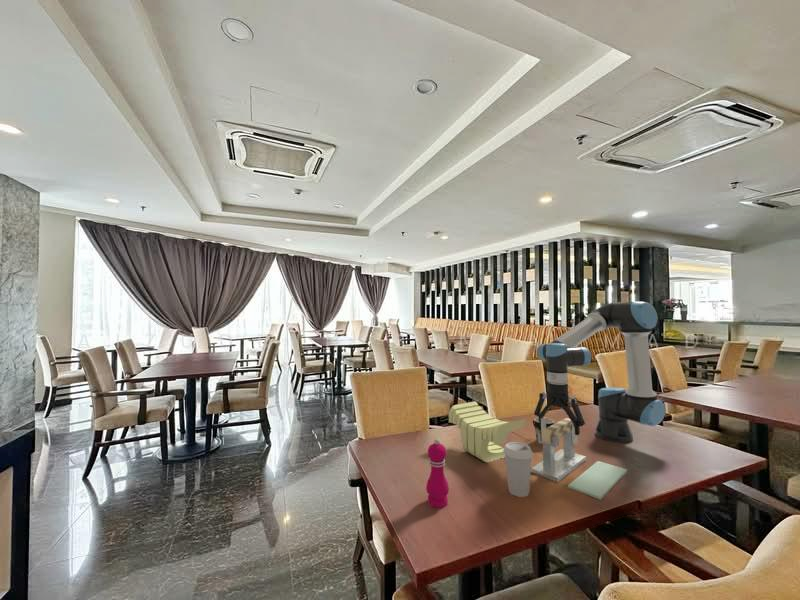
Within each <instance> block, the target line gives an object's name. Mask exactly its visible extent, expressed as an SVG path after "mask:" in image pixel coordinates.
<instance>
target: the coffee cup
mask: <svg viewBox="0 0 800 600" xmlns="http://www.w3.org/2000/svg"><path fill="white" fill-rule="evenodd" d="M503 448H504V450H503V452H504V454H505V459H504V460H505V469H506V474H507V475H506V477H507V485H508V488H507V489H508V492H509V493H510V494H511V495H513V496H515V497H519V498H520V497H521V498H526V497H528V496H529V495H530V485H531V473H532V472H531V468H532V458H533V456H534V453H533V450H532V449H531V446H530V445H527V444H526V443H522V442H519V441H512V442H507V443H505V446H504V447H503Z"/></svg>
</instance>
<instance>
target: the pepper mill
mask: <svg viewBox="0 0 800 600" xmlns="http://www.w3.org/2000/svg"><path fill="white" fill-rule="evenodd" d="M427 454H428V458H429V465H430V474H429V478H428V479H427V482H426V492H427V495H428V496H427V504H428V505H429V506H431V507H433V508H435V507H436V508H437V509H441V507H442V508H444V507H446V506H447V505H448V503H449V502H448V500H449V499H448V496H447V495H449V492H450V486H449V483H448V481H447V478H446V475H445V471H444V467H445V466H446V457H447V449H446V446H444V444H443V443H441V441H440V439H438V438H436V439H434V441H433V443H432V444H430V445H429V446H428V448H427Z"/></svg>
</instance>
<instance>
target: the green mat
mask: <svg viewBox="0 0 800 600" xmlns="http://www.w3.org/2000/svg"><path fill="white" fill-rule="evenodd" d="M627 473H628V469H626V468H623V467H620V466H618V465H613V464H609V463H606V462H603V461H599V460H597V461H596V462H594V463H593V464H592V465H591V466H590V467H589V468H587V469H586V470H585V471H584V472H582V473H581V474H580V475H579V476H577V477H576V478H575V479H574V480H572V482H570V483H569V484H568V485H567V487H568V488H569V489H571V490H574V491H576V492H579V493H581V494H584V495H588V496H590V497H592V498H595V499H598V500H599V501H602V499H603V498H604V497H605V496H606V495H607V493H609V492H610V490H612V488H613V487H614V486H615V485H616V484H617V483H618V482H619V481H621V479H622V478H624V476H625V474H627Z"/></svg>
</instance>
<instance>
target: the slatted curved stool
mask: <svg viewBox="0 0 800 600" xmlns="http://www.w3.org/2000/svg"><path fill="white" fill-rule="evenodd" d="M448 423H451V424H454V425H456V427H458V429H459V430H460V436H461V442H462V448H463V450H464V451H465V452H467V453H469V454H471V455H472V456H474V457H476V458H477V459H479V460H481V461H482V462H485V463H490V461H491V462H494V461H493V460H495V461H498V460H501V459H500V458H502V459H504V457H505V454H504V452H503V450H504V447H502V446H501V445H504V444H506V440H507V437H508V435H509V434H511V432H513V431H514V430H518V429H519V428H522V427H526V426H527V418H522V419H519V420H514V421H502V420H500V419H498V418H495V417H494V416H492V415H490V414H489V413H487V411H486V410H483V407H481V406H480V405H479V404H478V403H477V401H469V402H465V403H459V404H455V405H452V406H451V407H450V409H449V410H448ZM497 459H498V460H497Z"/></svg>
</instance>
